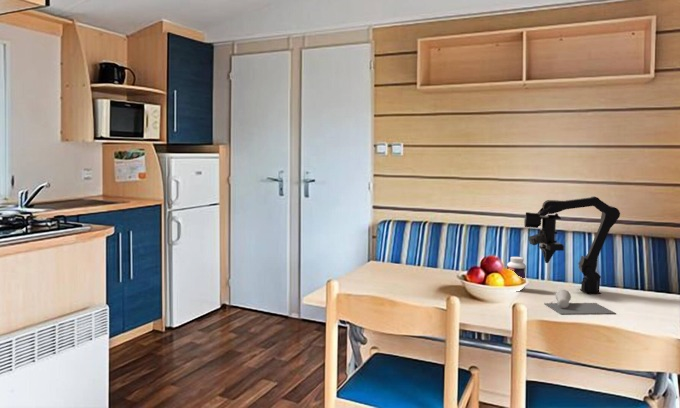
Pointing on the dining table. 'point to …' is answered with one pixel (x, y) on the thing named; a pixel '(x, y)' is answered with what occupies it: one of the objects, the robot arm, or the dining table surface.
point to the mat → (580, 308)
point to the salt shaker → (563, 298)
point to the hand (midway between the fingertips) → (546, 262)
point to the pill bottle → (517, 266)
